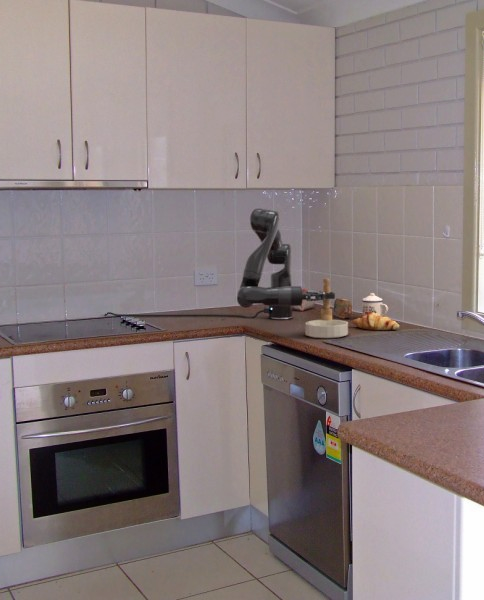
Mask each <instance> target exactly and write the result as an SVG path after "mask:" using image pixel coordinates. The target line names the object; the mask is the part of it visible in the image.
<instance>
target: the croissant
mask: <svg viewBox="0 0 484 600" xmlns="http://www.w3.org/2000/svg"><path fill="white" fill-rule="evenodd" d="M351 322H352V324H353V325H355V326H356V327H358V328H359V329H364V330H368V331H369V330H370V331H390V330H395V331H396V330H398V329H400V324H399V323H397V322H396V320H393V319H391V318H390V316H386V315H382V316H381V315H380V314H378V313H373V312H372V313H370V314H369V315H368V316H364V317H363V316H362V317H357V318H356V319H351Z"/></svg>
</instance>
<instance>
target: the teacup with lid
mask: <svg viewBox="0 0 484 600" xmlns="http://www.w3.org/2000/svg"><path fill="white" fill-rule="evenodd" d="M383 301H384V299H383V298H381V297H380V296H378V295H376V294H375V293H374V292H370V293H369V295H367V296H366V297H363V298H362V300H361V302H362V317H364V316H368V315H369V314H370V313H372V312H373V313H378V314H380V315H381V316H386V315H387V314H388V311H389V307H388V305H387V304H386V303H383ZM383 307H385V311H384V312H383Z"/></svg>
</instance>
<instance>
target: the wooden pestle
mask: <svg viewBox="0 0 484 600" xmlns="http://www.w3.org/2000/svg"><path fill="white" fill-rule="evenodd" d="M322 291H323V293H330V292H331V279H330V278H328V277H327V278H326V277H325V278H323V279H322ZM320 320H324V321H329V320H333V309H332V308H331V299H324V300H322V309H320Z"/></svg>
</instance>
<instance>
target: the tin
mask: <svg viewBox="0 0 484 600" xmlns="http://www.w3.org/2000/svg"><path fill="white" fill-rule="evenodd" d="M352 309H353V305H352V302H351V301H350V300H349V299H344V298H340V297H339V298H338V297H337V298H335V299H334V303H333V313H334V316H335V317H336V318H340V319H342V320H344V319H345V320H346V319H350V318H351V317H352V311H353V310H352Z"/></svg>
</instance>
